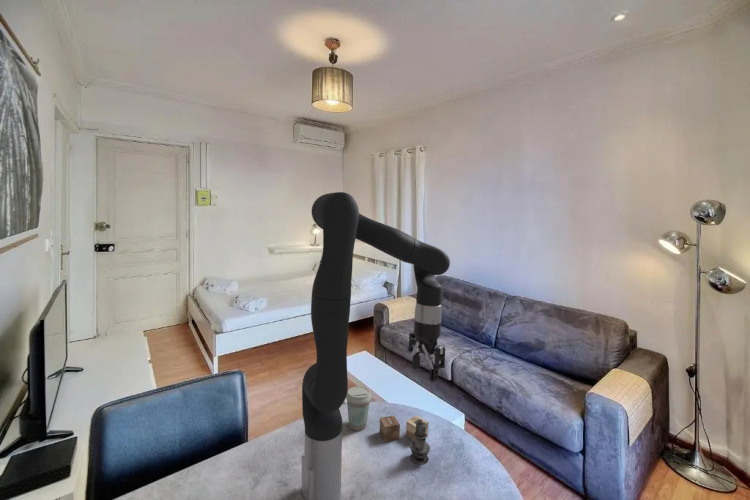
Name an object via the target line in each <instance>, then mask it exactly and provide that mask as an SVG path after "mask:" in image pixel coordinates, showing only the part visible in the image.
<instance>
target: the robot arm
mask: <svg viewBox="0 0 750 500" xmlns="http://www.w3.org/2000/svg"><path fill="white" fill-rule="evenodd" d="M359 209H360V208H359V206H358V203H357V200H356V199H355V198H354V196H353V195H351V194H349V193H347V192H343V191H337V192H329V193H325V194H323V195H320V196H319V197H317V198H316V199H315V200H314V202H313V204H312V207H311V217H312V220H313V221H314V223H315V225H317V226H318V228H320V229H321V230H322V233H323V234H322V236H323V237H322V238H323V239H322V255H321V260H320V262H319V265H318V268H317V271H316V274H315V275H314V276H315V277H314V280H313V283H312V289H311V301H310V302H311V303H310V319H311V326H312V334H313V338H314V343H315V349H316V362H315V363H313V364H311V365H310V366H309V367H308V368H307V369H306V371H305V374H303V379H302V383H301V386H302V387H301V395H302V396H301V397H302V398H301V401H302V419H303V424H304V445H303V446H304V448H303V449H304V454H303V456H301V494H302V497H303V498H304V500H340V498H341V494H342V491H341V490H342V460H343V459H342V457H343V456H342V454H343V453H342V452H343V417H342V414H341V409H340V408H341V407H342V406H343V404H344V402H345V400H346V396H347V392H348V390H349V389H348V388H349V387H348V386H349V382H348V381H349V380H348V378H349V377H348V358H347V357H348V339H349V325H350V324H349V323H350V313H351V302H352V301H351V299H352V278H353V262H354V261H353V259H354V250H355V242H356V240H358V241H360V242H362V243H364V244H366V245H368V246H371V247H372V248H375V249H377V250H378V251H380V252H383V253H385V254H386V255H388V256H390V257H393V258H394V259H397V260H399V261H401V262H403V263H407V264H411V265H413V272H414V278H415V282H416V283H415V284H416V298H415V300H416V301H415V302H416V303H415V307H414V318H413V319H414V321H413V331H412V332H409V335H408V336H409V337H408V348H407V351H408V352H409V353H411V357H412V358H411V359H412V361H411V364H412V367H411V368H412V369H413V370H417V369H420V367H421V356H420V355H421V354H423V355H424V356H425V359H426V361H428V363H429V366H430V368H429V381H430V382H432V383H433V382H437V381H438V378H439V370H441V369H444V368H446V365H445V364H446V346H444V345H443V346H441V345H439V344H438V340H439V338H440V336H441V329H442V328H441V327H442V317H443V316H442V313H443V312H442V310H443V309H442V302H443V301H442V300H443V299H442V298H443V287H442V285H441V283H439V282H438V281H437V280H436V276H440V275H444V274H445V273H446V272H448V270H449V269H450V266H451V260H450V257H449V255H448V254H447V252H445V251H444V250H443V249H441V248H438V247H436V246H434V245H431V244H428V243H427V242H424V241H421V240H419V239H417V238H415V237H413V236H412V235H410V234H408V233H406V232H404V231H402V230H400V229H398V228H396V227H392V226H390V225H388V224H385V223H382V222H379V221H376V220H374V219H371V218H369V217H367V216H365V215H363V214H361V213H360V210H359Z"/></svg>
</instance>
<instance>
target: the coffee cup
mask: <svg viewBox="0 0 750 500" xmlns="http://www.w3.org/2000/svg"><path fill="white" fill-rule="evenodd" d="M345 400H346V405H347V406H346V407H347V416H348V426H349V428H350V429H351V430H353V431H354V432H355V431H357V432H358V431H362V430H363V431H364V430H365V429H366V427H367V425H368V420H369V419H368V418H369V410H370V406H371V405H370V403H371V400H372V394H371V391H370V389H369V388H368V387H366V386H362V385H357V386H352V387H350V388H349V389H348V391H347V396H346V398H345Z"/></svg>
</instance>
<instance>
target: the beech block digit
mask: <svg viewBox="0 0 750 500" xmlns="http://www.w3.org/2000/svg"><path fill="white" fill-rule="evenodd" d="M420 420H422V422H424V423H425V424H426V434H427V437H426V438H428V437H429V423H430V422H429V421H427V420H426V419H424V418H423V417H421V416H419V415H418V414H416V415H414V416H413V417H411V418H409V419H408V420H406V426H405V429H406V430H405V436H407V438H409V439H410V440H412V441H415V435H414V433H415V432H416V423H417V422H419V421H420Z"/></svg>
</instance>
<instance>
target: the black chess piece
mask: <svg viewBox="0 0 750 500" xmlns="http://www.w3.org/2000/svg"><path fill="white" fill-rule="evenodd" d="M414 435H415V441H414V440H412V441H411V443H409V448H410V451H411V454H410V460H411V462H413V463H414V464H416V465H419V466H420V465H421V466H422V465H426V464H428V463H429V456H428V455H429V453H430V451H431V446H430V445H429V443H428V442H426V438H428V437H427V434H426V424H425V423H424V422H422V420H420V421H419V422H417V423H416V432H415V433H414Z"/></svg>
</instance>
